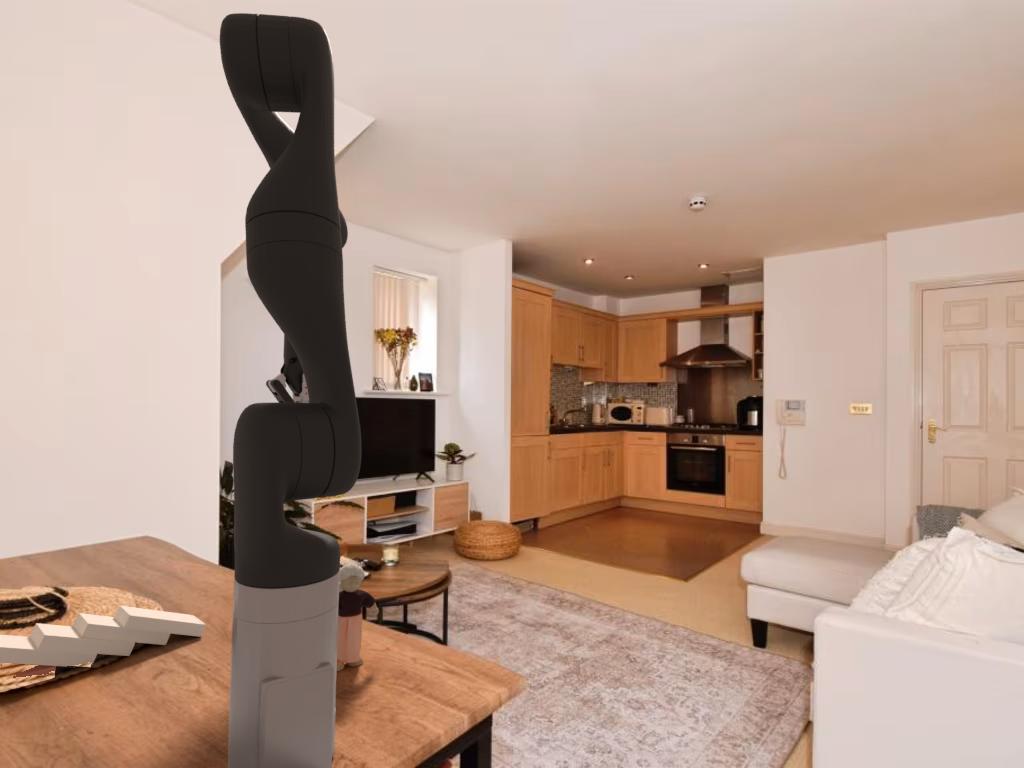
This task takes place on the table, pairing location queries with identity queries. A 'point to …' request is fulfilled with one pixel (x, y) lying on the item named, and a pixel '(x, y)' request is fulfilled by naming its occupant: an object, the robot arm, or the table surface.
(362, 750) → the table surface
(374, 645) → the table surface
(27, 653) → the domino
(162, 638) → the domino
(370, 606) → the grandmother figurine
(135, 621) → the domino
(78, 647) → the domino
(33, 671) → the domino
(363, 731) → the table surface
